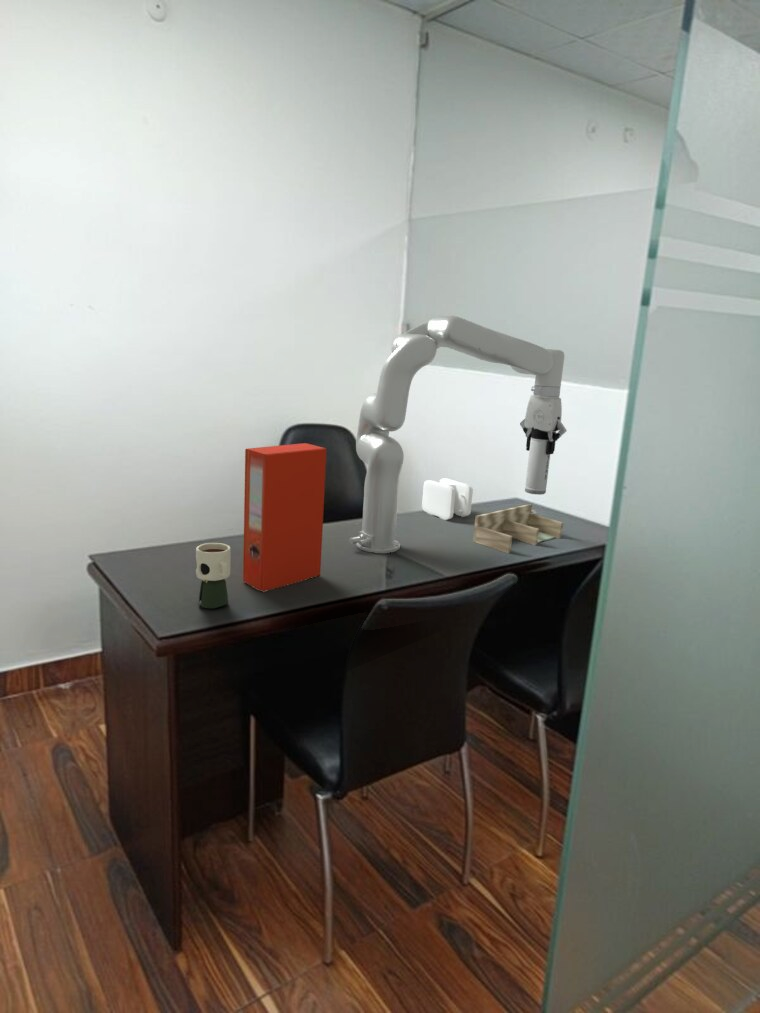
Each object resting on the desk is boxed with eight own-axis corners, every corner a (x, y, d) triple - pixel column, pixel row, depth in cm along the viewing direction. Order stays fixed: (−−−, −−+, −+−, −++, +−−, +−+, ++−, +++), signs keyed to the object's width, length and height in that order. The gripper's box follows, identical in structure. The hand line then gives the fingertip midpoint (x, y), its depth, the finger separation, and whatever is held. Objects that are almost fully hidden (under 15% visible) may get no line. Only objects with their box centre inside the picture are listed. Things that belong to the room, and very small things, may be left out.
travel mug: (521, 489, 208) (528, 425, 203) (541, 490, 208) (549, 426, 203) (527, 494, 202) (534, 428, 197) (548, 495, 202) (556, 429, 197)
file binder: (321, 576, 164) (326, 448, 156) (263, 593, 152) (266, 454, 144) (300, 567, 169) (304, 442, 161) (243, 582, 157) (244, 448, 149)
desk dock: (508, 553, 191) (511, 526, 189) (472, 541, 200) (475, 515, 198) (561, 537, 210) (564, 513, 208) (526, 527, 219) (529, 503, 217)
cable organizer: (419, 511, 231) (421, 478, 228) (441, 508, 237) (444, 476, 235) (449, 522, 220) (452, 488, 217) (471, 518, 226) (475, 485, 223)
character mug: (186, 600, 145) (185, 543, 142) (216, 593, 150) (216, 538, 147) (209, 617, 137) (209, 558, 134) (240, 610, 142) (241, 552, 139)
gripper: (515, 389, 201) (508, 448, 205) (565, 395, 189) (557, 458, 193) (529, 389, 206) (523, 446, 210) (579, 395, 194) (571, 456, 198)
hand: (539, 451), depth 202 cm, fingers closed on travel mug, 6 cm apart
